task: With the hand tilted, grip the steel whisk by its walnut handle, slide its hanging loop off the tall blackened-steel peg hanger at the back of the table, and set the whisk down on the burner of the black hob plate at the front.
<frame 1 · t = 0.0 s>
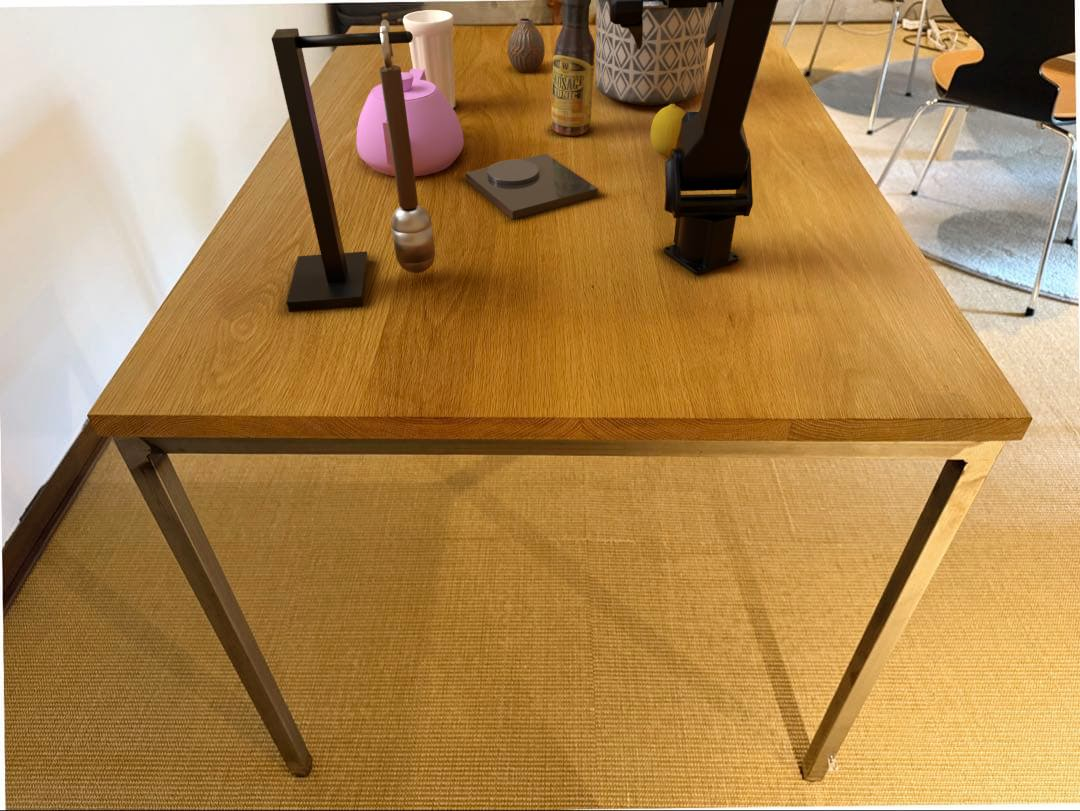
hand: (672, 45, 103), 15 cm above the table, tool tilted 35°, fingers open, 9 cm apart
teapot: (412, 160, 113), on the table
cup: (437, 109, 129), on the table
lemon: (667, 160, 111), on the table
hanger: (339, 284, 86), on the table
planter: (648, 96, 132), on the table
hob: (530, 188, 104), on the table
vase: (526, 70, 144), on the table
sauce bottle: (571, 131, 120), on the table
whisk: (417, 270, 86), point 1 cm above the table, touching hanger
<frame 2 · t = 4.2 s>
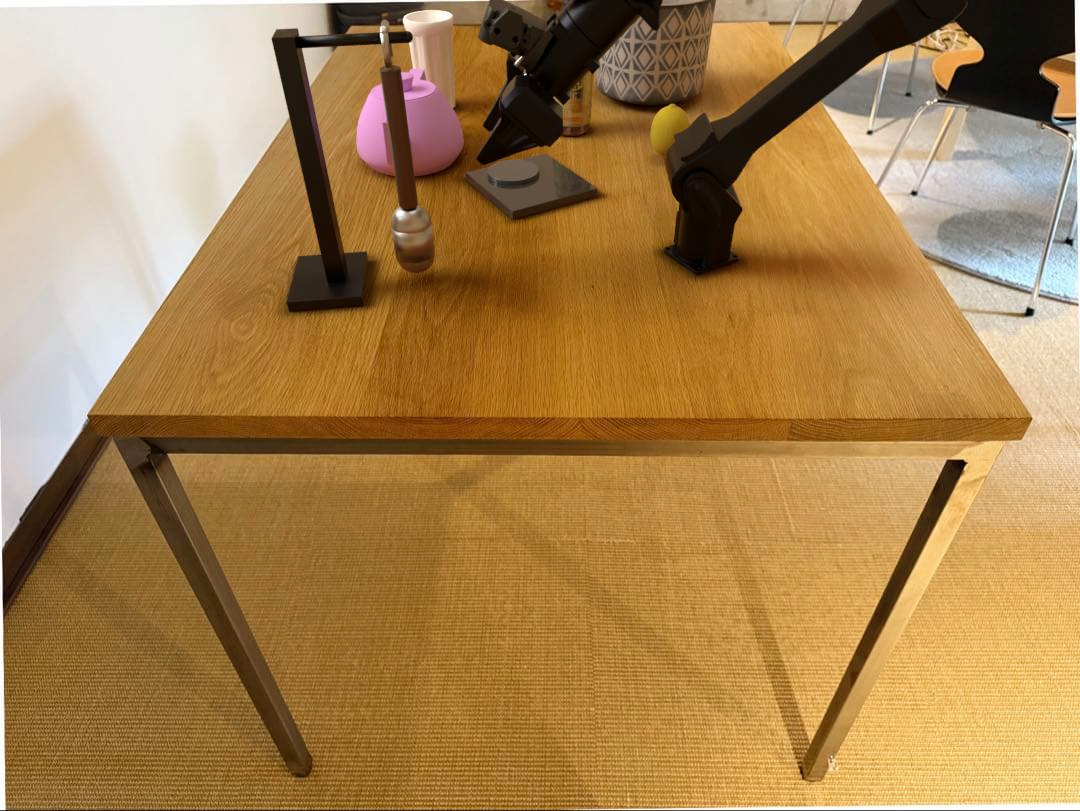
hand: (482, 144, 81), 14 cm above the table, tool tilted 45°, fingers open, 9 cm apart
nothing on the table moved.
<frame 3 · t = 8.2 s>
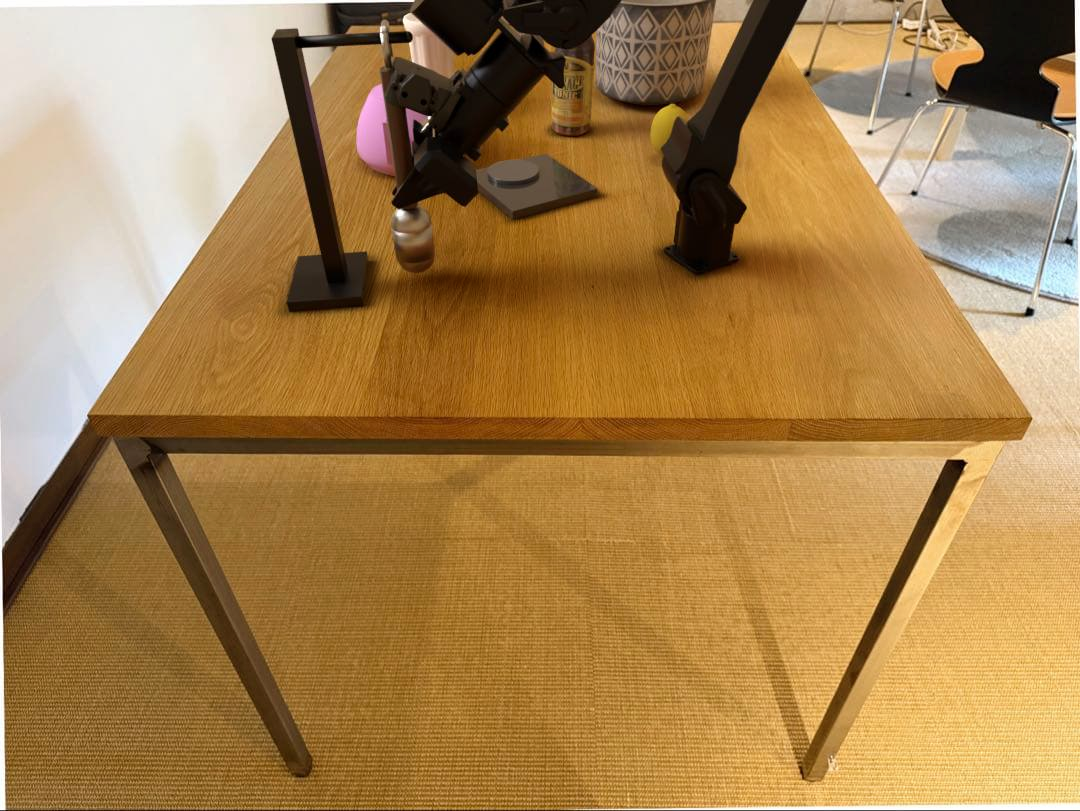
hand: (395, 201, 81), 10 cm above the table, tool tilted 45°, fingers closed on whisk, 2 cm apart
whisk: (417, 270, 86), point 1 cm above the table, touching gripper, hanger
everything else where it was.
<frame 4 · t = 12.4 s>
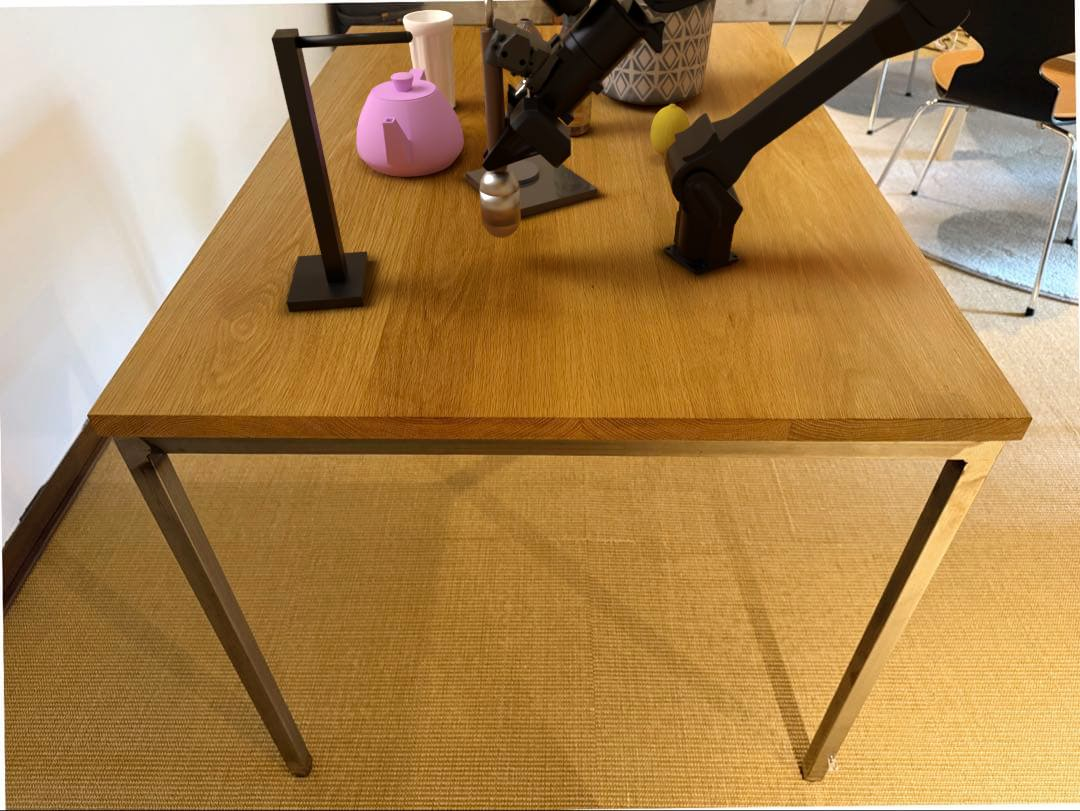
hand: (485, 163, 82), 12 cm above the table, tool tilted 45°, fingers closed on whisk, 2 cm apart
whisk: (502, 235, 87), point 3 cm above the table, touching gripper
everything else where it was.
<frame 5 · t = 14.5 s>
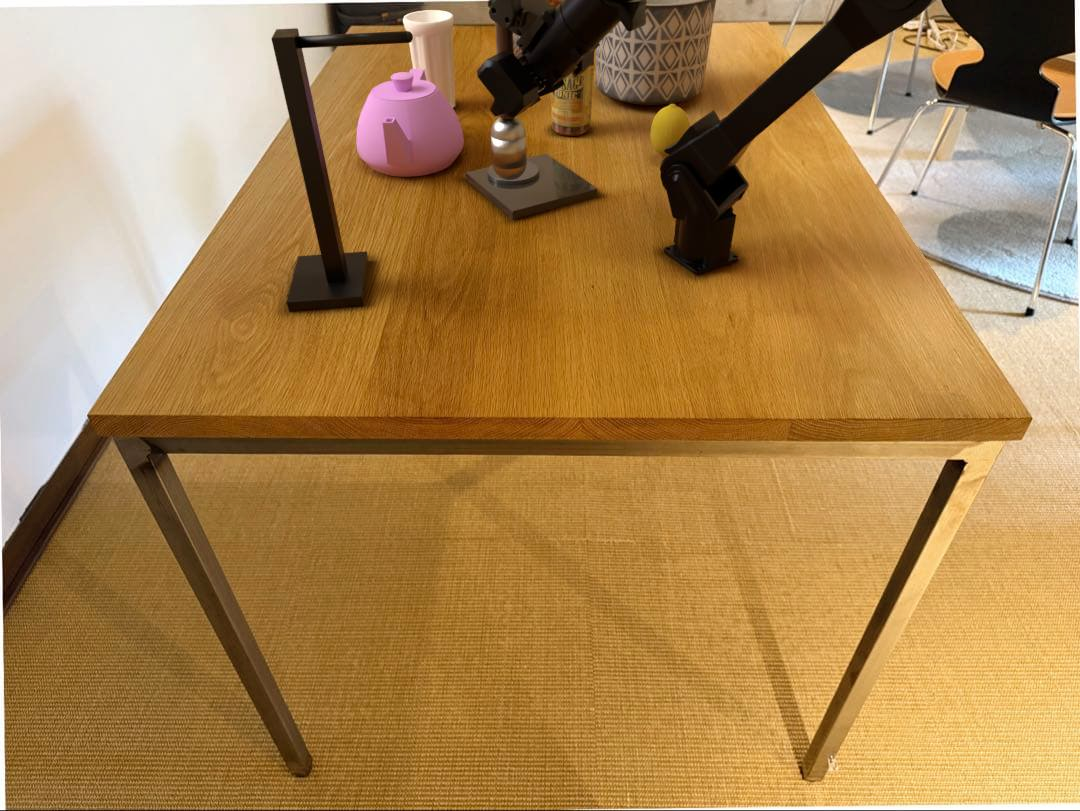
hand: (497, 109, 93), 12 cm above the table, tool tilted 45°, fingers closed on whisk, 2 cm apart
whisk: (510, 178, 98), point 4 cm above the table, touching gripper
everything else where it was.
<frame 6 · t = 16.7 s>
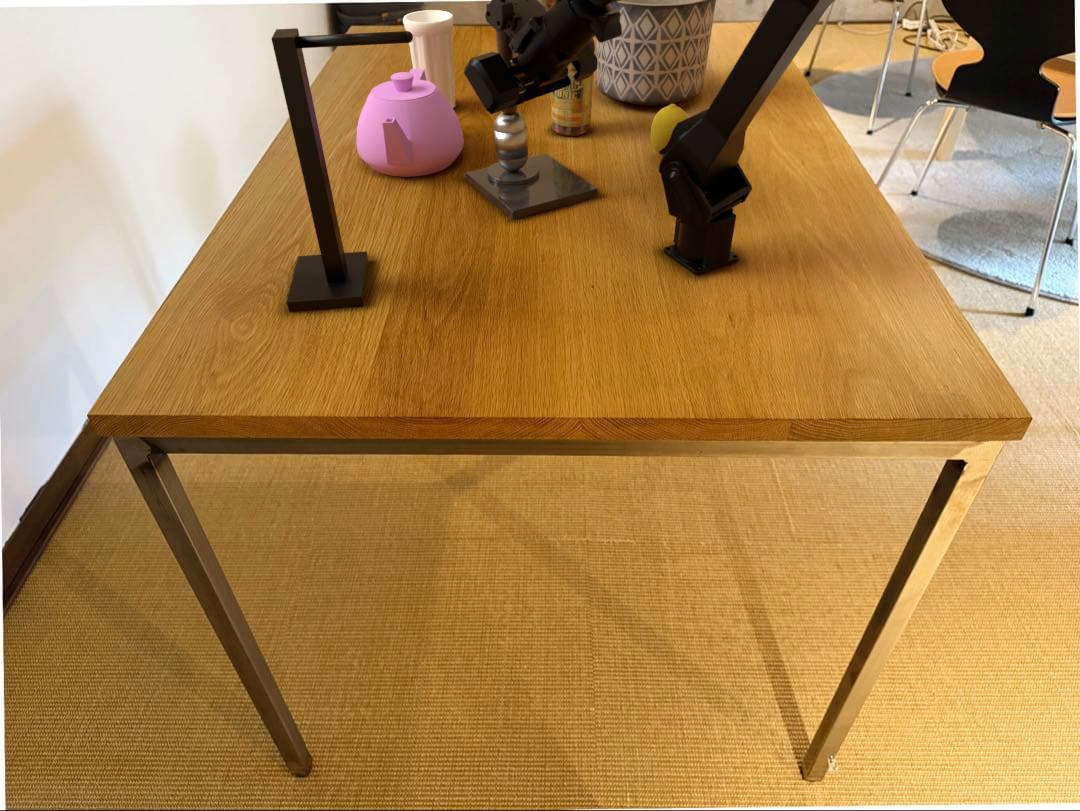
hand: (503, 105, 100), 10 cm above the table, tool tilted 45°, fingers open, 5 cm apart
whisk: (513, 170, 105), point 2 cm above the table, touching hob
everything else where it was.
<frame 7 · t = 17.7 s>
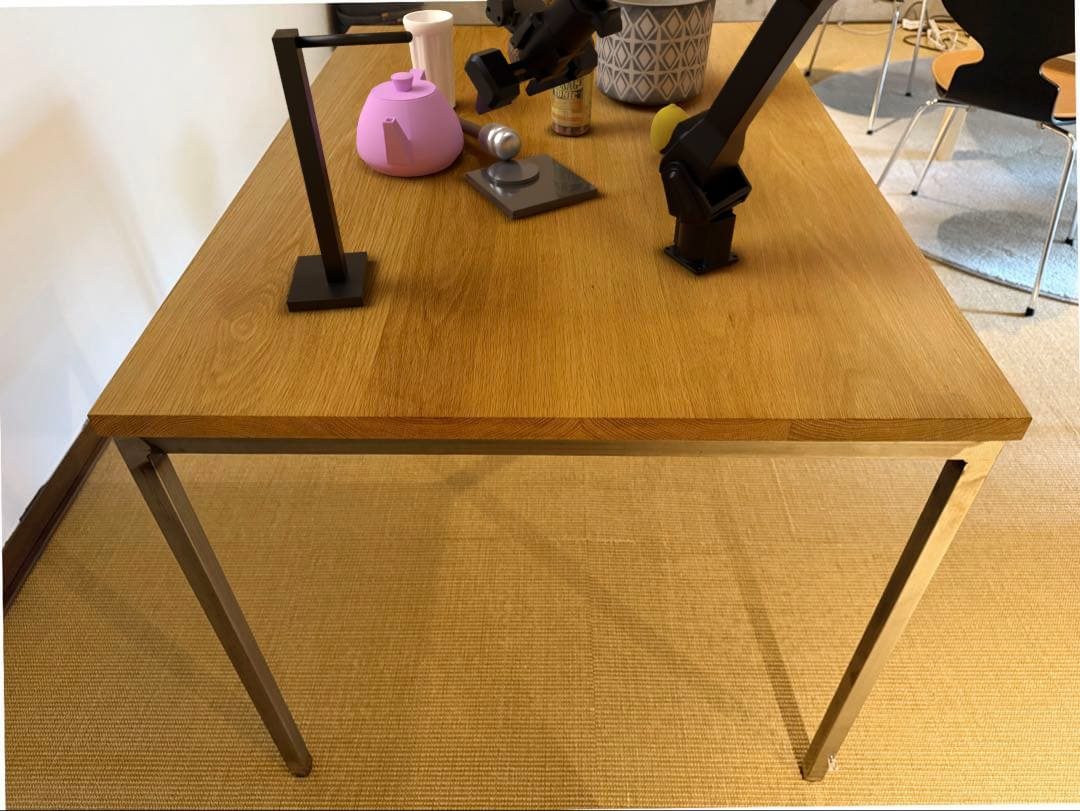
hand: (503, 102, 100), 11 cm above the table, tool tilted 45°, fingers open, 9 cm apart
whisk: (513, 147, 105), point 4 cm above the table, tilted 96°, touching hob
everything else where it was.
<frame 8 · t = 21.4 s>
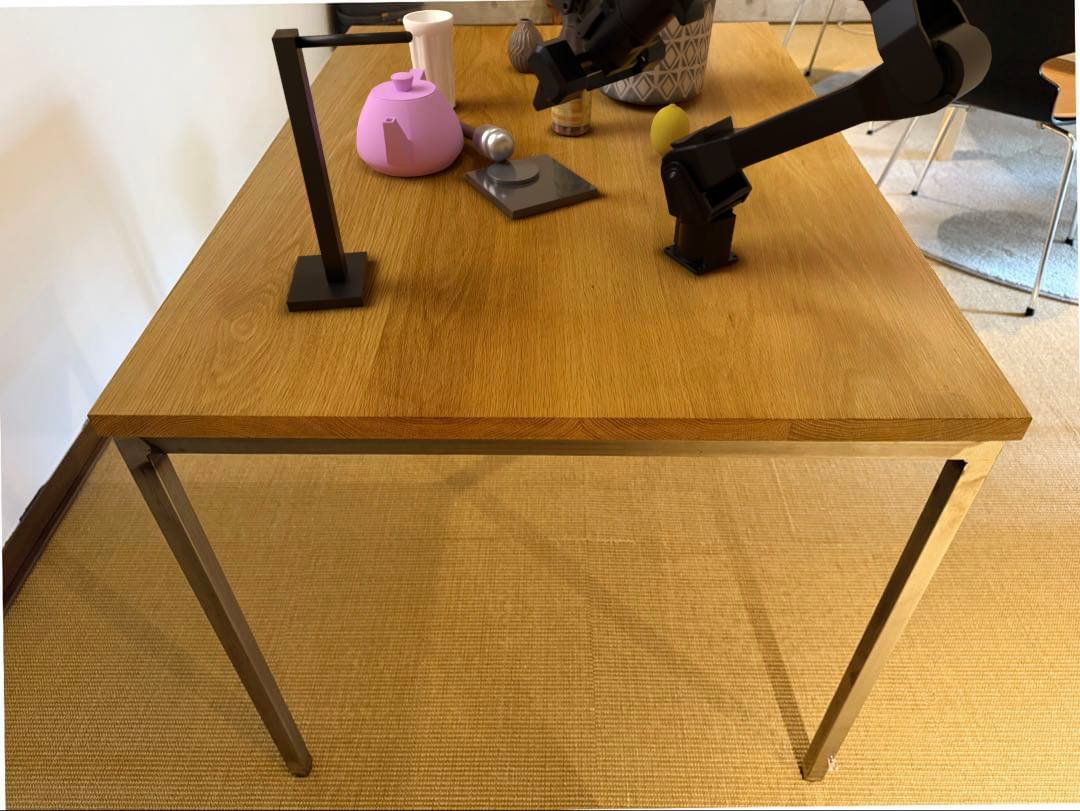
hand: (561, 97, 92), 14 cm above the table, tool tilted 45°, fingers open, 9 cm apart
teapot: (412, 160, 113), on the table, touching whisk
whisk: (506, 148, 104), point 4 cm above the table, tilted 98°, touching hob, teapot
everything else where it was.
at the end: whisk inside the target area on the hob (4.7 cm from its centre), point 4.3 cm above the hob's base; whisk touching hob, table, teapot; the gripper is holding nothing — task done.
